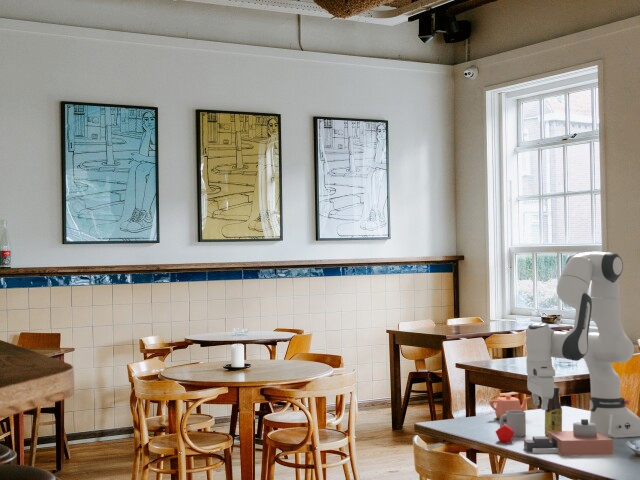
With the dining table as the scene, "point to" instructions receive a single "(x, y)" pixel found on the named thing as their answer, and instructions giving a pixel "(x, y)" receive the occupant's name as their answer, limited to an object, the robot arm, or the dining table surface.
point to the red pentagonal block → (505, 434)
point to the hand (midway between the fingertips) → (540, 407)
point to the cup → (515, 422)
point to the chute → (537, 443)
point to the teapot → (507, 405)
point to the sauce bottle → (553, 414)
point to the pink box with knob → (579, 441)
